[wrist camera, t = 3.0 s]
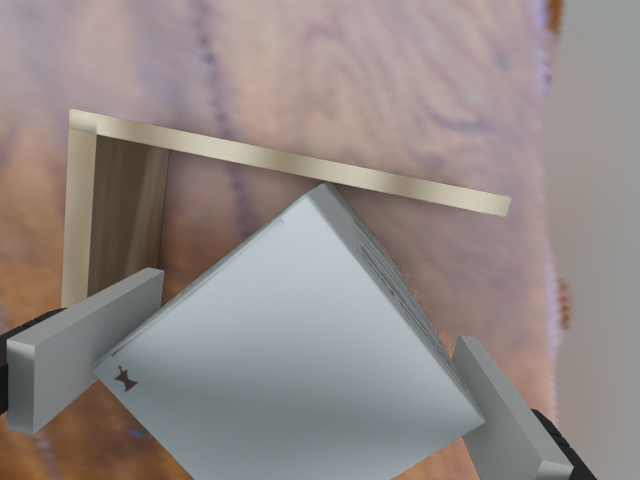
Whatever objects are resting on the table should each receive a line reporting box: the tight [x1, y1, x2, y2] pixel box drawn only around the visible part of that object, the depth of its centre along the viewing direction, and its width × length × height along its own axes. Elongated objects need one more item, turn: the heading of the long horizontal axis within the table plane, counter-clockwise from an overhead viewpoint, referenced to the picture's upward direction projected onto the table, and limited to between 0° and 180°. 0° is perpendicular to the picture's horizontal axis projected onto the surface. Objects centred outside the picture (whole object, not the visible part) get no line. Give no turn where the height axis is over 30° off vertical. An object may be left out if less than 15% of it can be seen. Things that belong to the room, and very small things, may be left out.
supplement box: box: [91, 180, 486, 480], centre depth 19 cm, size 10×9×17 cm
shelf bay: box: [61, 109, 511, 308], centre depth 23 cm, size 23×15×8 cm, turn 79°
